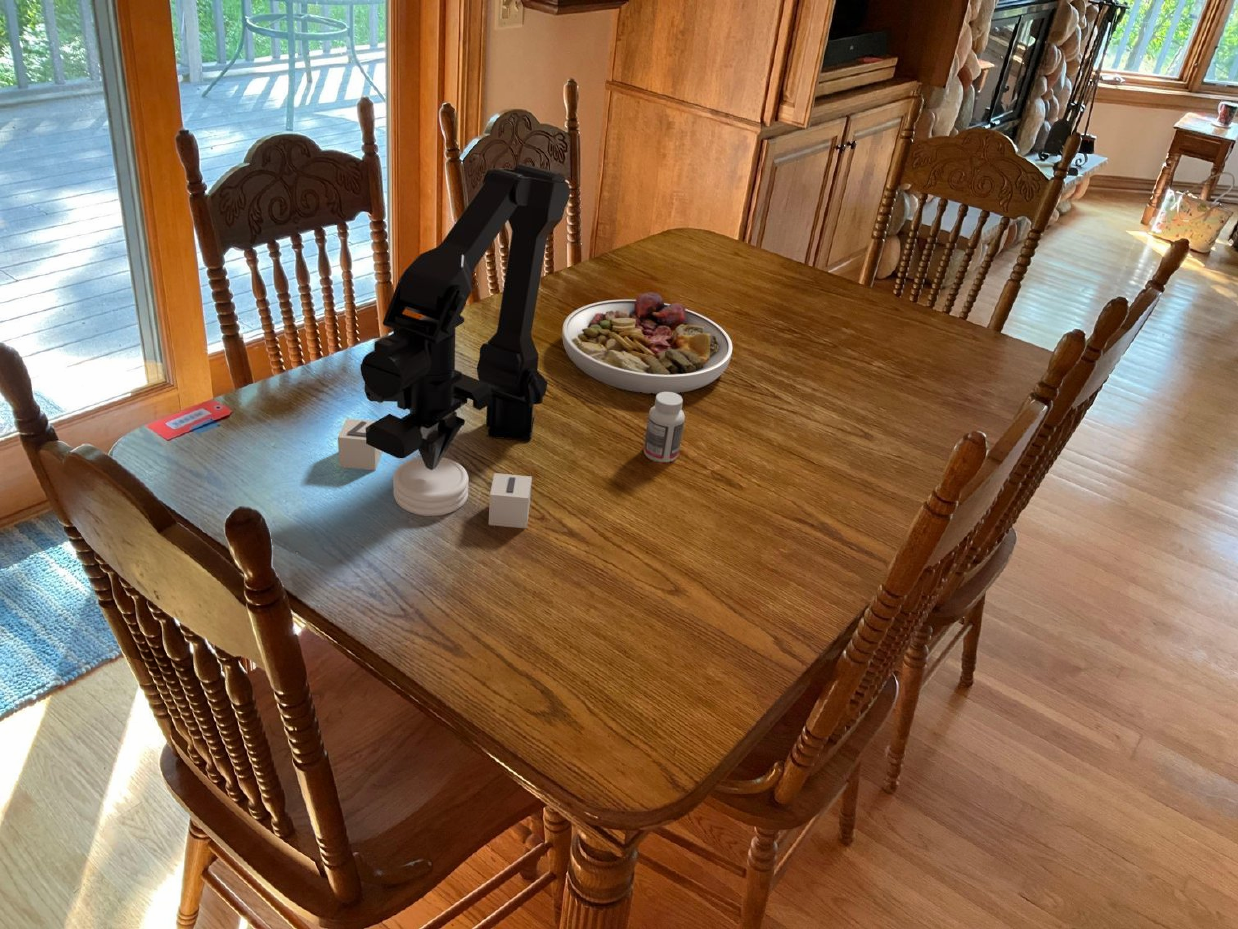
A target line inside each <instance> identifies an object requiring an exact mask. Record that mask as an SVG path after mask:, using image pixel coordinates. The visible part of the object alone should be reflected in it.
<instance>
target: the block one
mask: <svg viewBox="0 0 1238 929" xmlns="http://www.w3.org/2000/svg"><path fill="white" fill-rule="evenodd" d="M532 479H533V476H529V475H521V474H520V475H518V474H510V473H509V474H507V473H498V472H494V474H493V478H492V483H491V488H490V491H489V492H490V493H489V505H488V506H489V508H488V510H489V512H488V526H497V527H498V526H499V527H506V528H507V527H508V528H516V529H517V528H520V529H527V527H528V520H529V513H530V507H531V494H532Z"/></svg>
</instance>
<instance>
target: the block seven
mask: <svg viewBox="0 0 1238 929" xmlns="http://www.w3.org/2000/svg"><path fill="white" fill-rule="evenodd" d="M376 421H377V420H375V421H374V420H365V419H356V418H346V419H345V421H344V423H343V425H342V428H341V430H340V431H339V433H338V436H337V444H338V445H337V448H338V449H337V450H338V464H339V466H338V467H339V468H345V469H346V468H347V469H357V470H358V469H359V470H367V471H369V470H370V471H376V470H377V468H378V465H379V462H380V459H381V458H382V454H383V453H384V452H383V451H381V450H378V449H376V448H374V447H372V446H370V445H368V444H366V427H368V426H369V425H371V424H372V423H374V422H376Z"/></svg>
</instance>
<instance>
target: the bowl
mask: <svg viewBox="0 0 1238 929" xmlns="http://www.w3.org/2000/svg"><path fill="white" fill-rule="evenodd" d="M561 337H562V343H563V347H564V349H565V353H566V354H567V356H568V357H569V359H570V360H571V361H572V362H573V364H575V366H576V367H577V368H578V369H579V370H581V371H582V372H583V373H584V374H586V375H587V376H589V377H591V378H593V379H595V380H597V381H599V382H601V383H603V384H606V385H609V386H611V387H614V388H616V389H622V390H624V389H625V391H630V392H634V393H640V392H642V393H643V394H650V393H653V394H654V395H657V394H659V393H661V392H673V393H676V394H680V392H681V393H685V392H690V391H694V390H697V389H700V388H703V387H705V386H707V385H709V384H711V383H713V382H714V381H715V380H716V379H718V378H719V377H721V375H722V374H723V373H724V372H725V370H727V367H728V366H729V363H730V362H731V358H732V353H733V342H732V340H731V338H730V335H729V334H728V333H727V332H726V331H725V330H724V329H723V328H722V327H721V326H720V325H718V324H717V323H716V322H714V321H713V320H711V319H709V318H708V317H706V316H704V315H702V314H700V313H697V312H695V311H692V310H690V309H687V308H685V305H683V304H681V303H680V302H673V303H671V304H670V303H665V302H664V299H663V297H662V296H661V295H660V294H658V293H657V292H654V291H649V292H643V293H642V294H640V295H638V297H636V299H611V300H604V301H597V302H594V303H590V304H587V305H583V306H582V307H579V308H577V309H576V310H574V311H573V312H571V313H570V314H569V315H568V316H567V317H566V318H565V320H564V321H563V324H562V332H561ZM642 393H641V394H642ZM653 394H652V395H653Z"/></svg>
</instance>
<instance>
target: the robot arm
mask: <svg viewBox="0 0 1238 929" xmlns="http://www.w3.org/2000/svg"><path fill="white" fill-rule="evenodd" d="M570 196H571V188H570V185H569V183H568V182H567V180H566V177H565V175H564V174H563V173H561V172H557V171H554V170H553V171H552V170H549V169H545V168H541V167H537V166H533V165H530V164H526V163H523V162H520V163H518V164H516V166H515V167H514V168H513V169H512V168H505V167H504V168H503V167H496V168H489V169H488V170H487V171H486V172H485V175H484V177H483V180H482V185H481V187H480V188H479V190H478V191H477V193H475V195H474V197H473V198H472V200H471V201H470V202H469V203H468V205H467V206H466V208H465V209H464V211H463V212H462V214H461V215H460V216H459V217H458V219H457V221H456V222H455V223H454V225H453V226H452V228H451V229H450V231H449V232H448V233H447V235H446V236H445V237H444V239H443V240H442V241H441V243H440V244H438V246H436V247H433V248H432V249H429V250H427V251H425V252H422V253H420V254H419V255H417V257H416V258H415V259H414V260H413V261H412V263H410V265H408V267H407V268H406V269H405V270H404V271H403V273H402V274H401V275H400V277H399V280H398V282H397V285H396V287H395V290H394V292H393V295H392V297H391V299H390V302H389V305H388V308H387V310H386V312H385V316H384V318H383V320H382V325H383V326H384V327H386V328H390V329H393V331H392V332H393V333H391V334H390V335H388V336H385V337H381V338H380V339H378V340H376V341H375V342H374V343H373V344H374V345H373V347H374V349H373V350H372V351H370V352H368V353H367V354H366V355H365V356H364V357H363V359H362V362H361V364H360V374H361V378H362V380H363V382H364V392H365V397H366V398H367V400H368V401H370V402H376V403H380V404H382V403H384V402H387V403H388V402H392V403H393V402H394V403H395V402H396V403H397V404H396V405H397V408H398V409H400V410H404V411H406V410H409V413H407V414H406V415H405V416H403V417H401V418H400V417H398V416H395V415H393V414H391V413H388V414H386V415H384V416H383V417H381V418H379V419H378V420H375V421H376V422H374V423H372V424H371V425H369V426H368V427H366V444H368V445H370V446H372V447H374V448H376V449H378V450H381V451H383V452H382V453H385V454H387V455H390V456H392V457H393V458H396V459H405V458H407V457H409V456H411V455H413V453H415V452H417V451H418V452H419V455H420V457H422V459H423V461H424V464H425V466H426V468H428V469H430V470H433V469H435V468H436V467H437V465H438V463H439V462H440V460H441V458H442V457H443V458H444V455H445V454H446V452H447V450H448V448H449V446H450V445H451V443H452V442H453V440H454V438H455V437H456V436H457V434H458V432H459V431H460V429H462V427H463V426H464V425H465V423H466V420H465V419H464V418H462V417H460V416H457V415H458V412H456V411H457V410H459V409H460V408H461V407H463V406H464V405H466V404H468V399H469V400H471V401H472V407H473V408H474V409H475V410H478V411H481V410H483V409H484V408H486V416H485V417H486V419H485V421H486V422H485V426H486V427H487V428H488V430H487V437H490V438H498V439H508V440H516V441H517V440H519V441H531V440H532V434H533V429H534V424H535V423H534V422H535V417H534V407H535V405H541V404H543V398H544V397H545V395H546V392H547V387H548V385H549V384H548V381H547V380H546V379H545V377H544V376H543V375H542V374H541V373H540V372H539V371H538V367H539V353H538V350H537V347H536V345H535V342H534V340H533V338H532V331H533V327H534V326H533V324H534V319H535V313H536V307H537V299H538V296H539V295H538V294H539V288H540V283H541V278H542V271H543V265H544V259H545V253H546V247H547V242H548V236H549V235H550V234H551V232H553V230H554V229H556V227H557V226H558V225H559V224H560V222H561V221H562V220H563V217H564V213H565V208H566V207H567V205H568V203H569V200H570ZM507 222H508V224H509V227H510V229H511V235H510V236H511V237H510V244H509V249H508V255H507V257H508V258H507V262H506V263H507V264H506V268H505V269H506V270H505V275H504V276H505V277H504V283H503V287H502V288H503V289H502V296H501V303H500V310H499V315H498V321H497V322H498V323H497V326H496V327H497V328H496V332H495V333H494V334H493V335H492V337H490V339H489V340H488V341H487V342H485V343H483V344H481V346H480V347H479V358H478V363H477V364H476V365H477V366H476V372H477V378H474V377H472V376H469V375H467V374H465V373H462V371H459V370H457V369H456V368H455V367H456V328H457V327H459V326H460V325H462V324H464V323H465V321H466V320H465V319H466V318H464V317H463V316H462V312H463V311H464V309H465V307H466V305H467V301H468V299H469V298H470V295H471V293H472V292H473V291H472V289H473V287H472V274H473V273H474V272H475V269H476V267H477V266H478V265H479V263H480V261H481V260H482V258H483V257H484V256H485V254H486V253H487V251H488V249H489V248H490V247H491V245H492V244H493V242H494V241H495V240H496V237H497V236H498V235H499V233H501V231H502V229H503V228H504V227H505V225H506V223H507ZM405 310H406V311H409V312H412V313H415V314H418V315H421V316H422V317H421V318H416V317H414V316H410V315H407V314H404V311H405Z"/></svg>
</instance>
